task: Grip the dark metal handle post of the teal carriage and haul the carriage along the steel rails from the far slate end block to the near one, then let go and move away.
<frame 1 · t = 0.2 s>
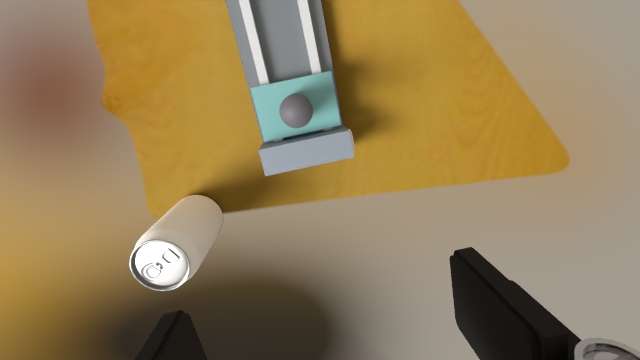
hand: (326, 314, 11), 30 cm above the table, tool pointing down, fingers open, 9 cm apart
can: (200, 215, 41), on the table
carriage: (296, 108, 31), point 7 cm above the table, slide at 0.0 cm
rail track: (286, 57, 36), on the table
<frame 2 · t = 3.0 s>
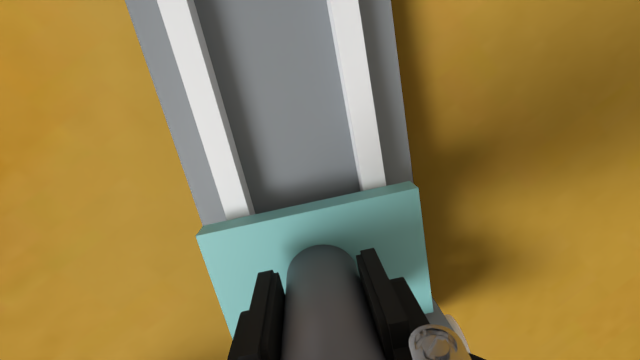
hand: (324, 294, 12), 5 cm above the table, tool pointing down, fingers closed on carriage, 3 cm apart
carriage: (328, 329, 10), point 7 cm above the table, slide at 0.0 cm, touching gripper
rail track: (294, 135, 15), on the table
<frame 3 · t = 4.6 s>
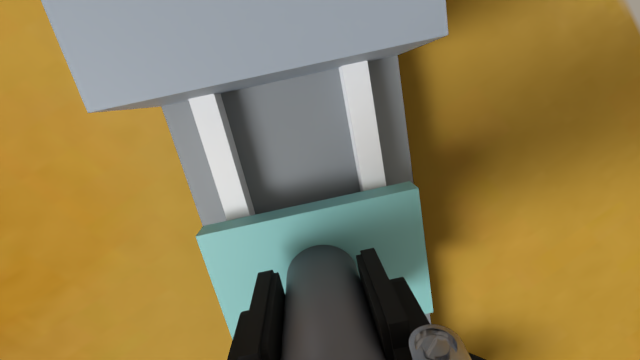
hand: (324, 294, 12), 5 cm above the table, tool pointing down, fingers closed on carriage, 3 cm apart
carriage: (328, 330, 10), point 7 cm above the table, slide at 6.5 cm, touching gripper
rail track: (321, 252, 16), on the table
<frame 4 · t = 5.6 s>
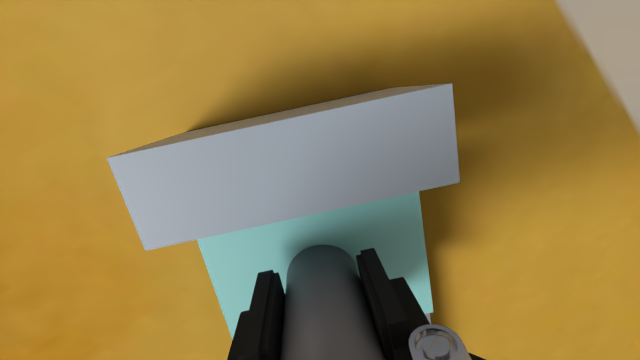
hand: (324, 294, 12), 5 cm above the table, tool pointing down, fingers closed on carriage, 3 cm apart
carriage: (328, 329, 10), point 7 cm above the table, slide at 10.8 cm, touching gripper
rail track: (335, 316, 18), on the table
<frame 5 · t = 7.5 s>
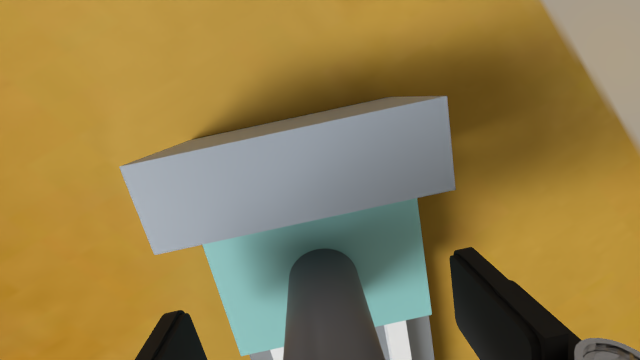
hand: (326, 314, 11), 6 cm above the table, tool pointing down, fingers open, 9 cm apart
carriage: (329, 330, 10), point 7 cm above the table, slide at 10.8 cm
rail track: (336, 319, 18), on the table
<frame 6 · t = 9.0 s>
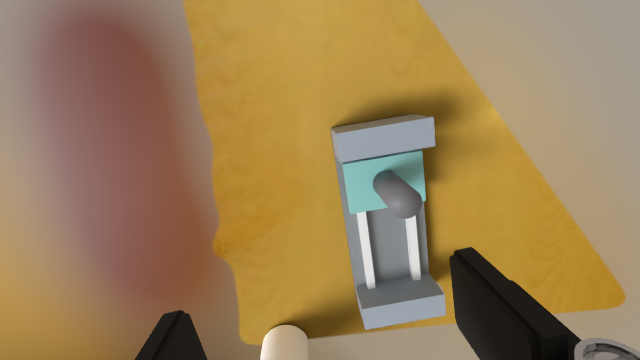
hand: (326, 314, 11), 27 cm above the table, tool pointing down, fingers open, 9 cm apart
can: (285, 340, 44), on the table
carriage: (393, 190, 32), point 7 cm above the table, slide at 10.8 cm
rail track: (382, 213, 39), on the table
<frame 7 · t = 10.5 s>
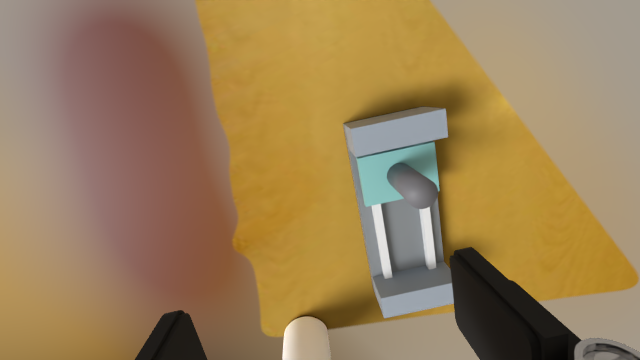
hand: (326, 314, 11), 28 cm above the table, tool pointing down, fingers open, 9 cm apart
can: (306, 331, 45), on the table
carriage: (408, 182, 32), point 7 cm above the table, slide at 10.8 cm
rail track: (396, 205, 40), on the table
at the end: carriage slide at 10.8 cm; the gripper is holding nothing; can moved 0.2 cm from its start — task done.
